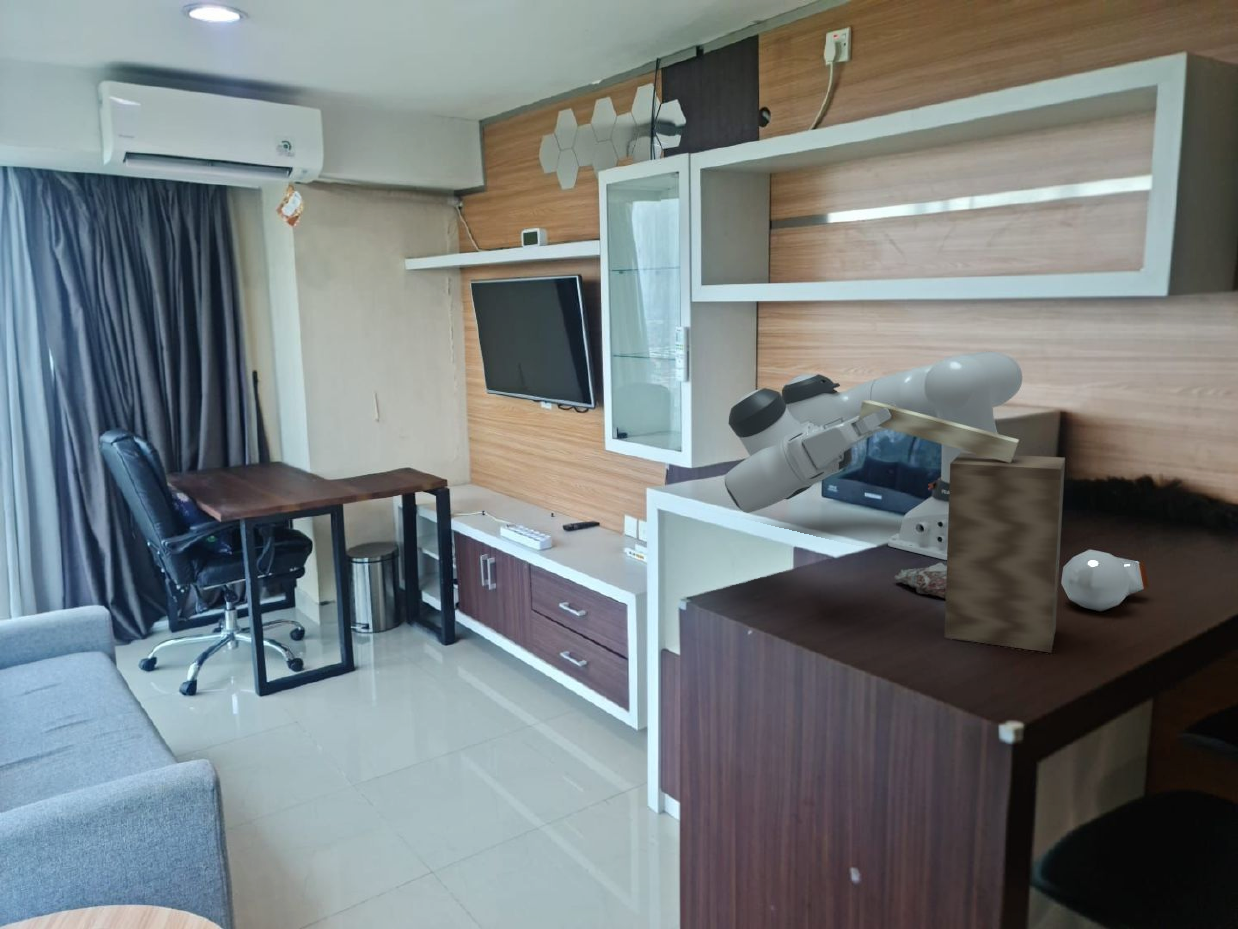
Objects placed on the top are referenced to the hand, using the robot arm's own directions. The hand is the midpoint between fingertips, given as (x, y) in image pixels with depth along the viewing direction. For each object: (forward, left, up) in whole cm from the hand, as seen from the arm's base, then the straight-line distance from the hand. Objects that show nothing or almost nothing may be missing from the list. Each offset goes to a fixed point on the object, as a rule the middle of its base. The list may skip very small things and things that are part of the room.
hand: (893, 410), depth 128 cm
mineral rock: (0, +18, -33) cm, 38 cm away
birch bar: (+6, +1, -4) cm, 7 cm away
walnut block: (+15, +5, -33) cm, 37 cm away
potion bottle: (+22, +28, -33) cm, 49 cm away
